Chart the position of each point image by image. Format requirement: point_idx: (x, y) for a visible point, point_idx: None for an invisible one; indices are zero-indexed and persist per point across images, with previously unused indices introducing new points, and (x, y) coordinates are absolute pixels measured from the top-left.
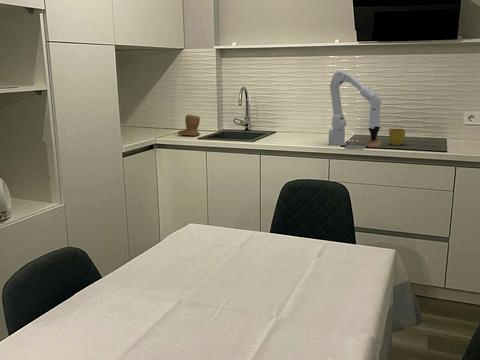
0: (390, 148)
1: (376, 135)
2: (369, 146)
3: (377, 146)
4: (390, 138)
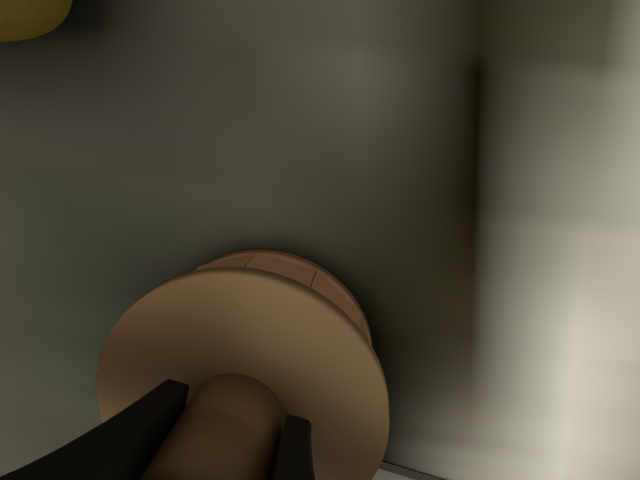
0: (467, 85)
1: (207, 454)
2: None
3: (357, 309)
4: (13, 40)
